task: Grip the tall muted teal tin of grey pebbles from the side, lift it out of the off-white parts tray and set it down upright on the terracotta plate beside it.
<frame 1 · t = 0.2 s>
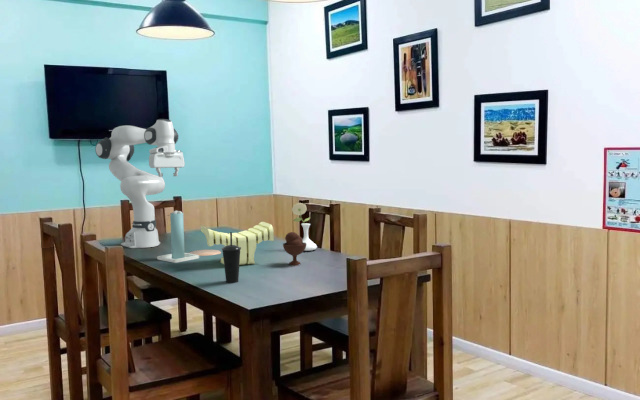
hand: (168, 176, 301), 39 cm above the table, tool pointing down, fingers open, 8 cm apart
pebble cup: (178, 258, 278), point 1 cm above the table, touching parts tray
terracotta plate: (205, 253, 293), on the table
drinking cup: (232, 282, 232), on the table
parts tray: (178, 259, 278), on the table
slatted curved stool: (237, 263, 269), on the table
ice cream bowl: (294, 264, 265), on the table
flower in vase: (304, 250, 301), on the table
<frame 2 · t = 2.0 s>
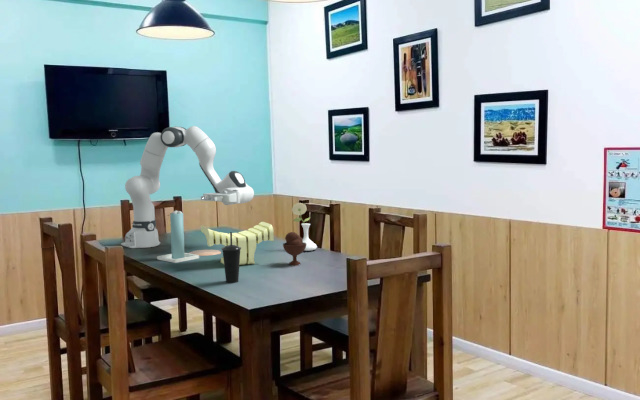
hand: (207, 198, 290), 28 cm above the table, tool horizontal, fingers open, 8 cm apart
nothing on the table moved.
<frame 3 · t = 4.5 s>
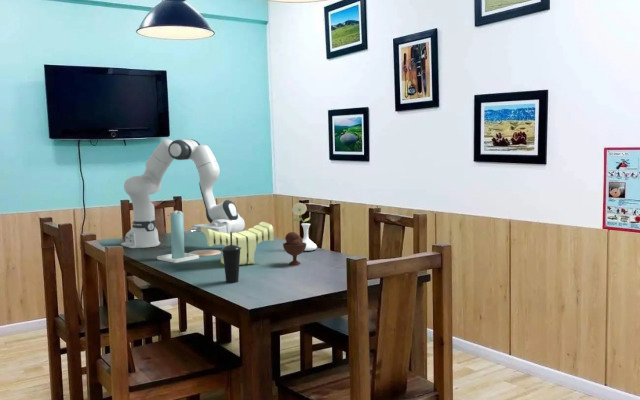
hand: (196, 231, 286), 12 cm above the table, tool horizontal, fingers open, 8 cm apart
nothing on the table moved.
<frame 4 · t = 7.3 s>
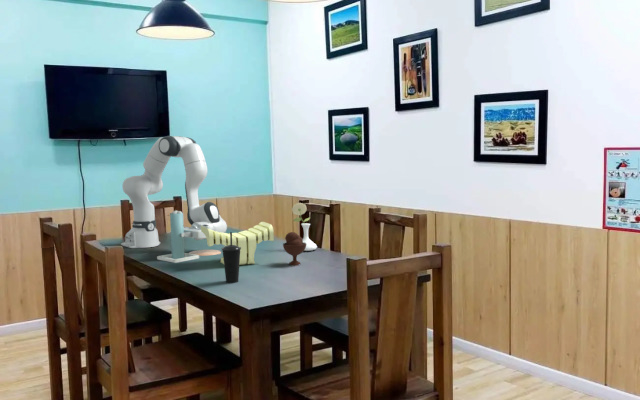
hand: (175, 234, 276), 13 cm above the table, tool horizontal, fingers closed on pebble cup, 6 cm apart
pebble cup: (178, 258, 278), point 1 cm above the table, touching gripper, parts tray
everything else where it was.
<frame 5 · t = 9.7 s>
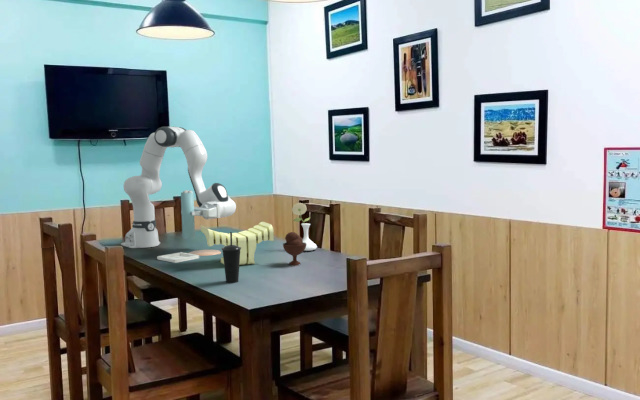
hand: (186, 213, 282), 22 cm above the table, tool horizontal, fingers closed on pebble cup, 6 cm apart
pebble cup: (188, 237, 283), point 10 cm above the table, touching gripper
everything else where it was.
when the fingers open (14 cm above the table, at t = 12.5 s): pebble cup drops 1 cm, resting on terracotta plate.
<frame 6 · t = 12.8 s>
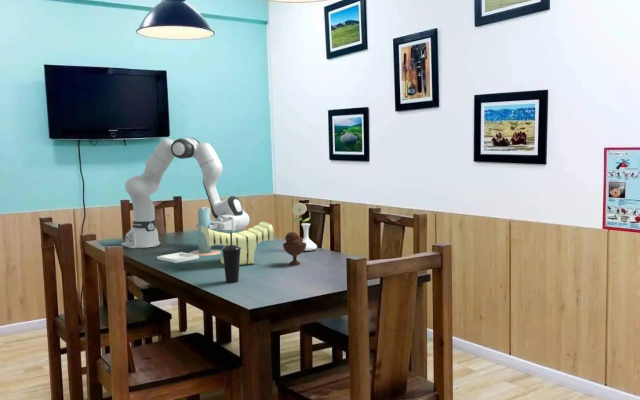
hand: (202, 226, 291), 14 cm above the table, tool horizontal, fingers open, 8 cm apart
pebble cup: (204, 252, 293), point 1 cm above the table, touching terracotta plate
everything else where it was.
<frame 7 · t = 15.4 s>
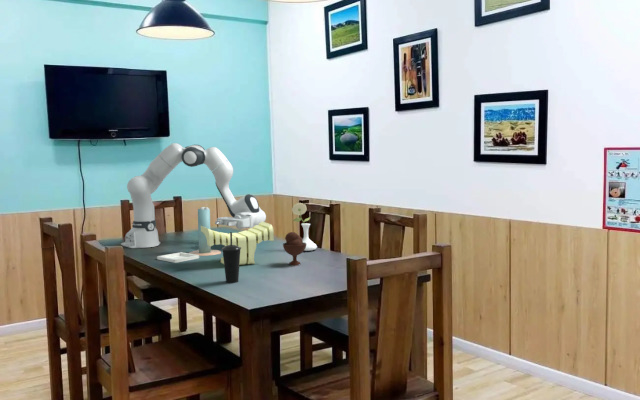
hand: (221, 223, 301), 14 cm above the table, tool horizontal, fingers open, 8 cm apart
nothing on the table moved.
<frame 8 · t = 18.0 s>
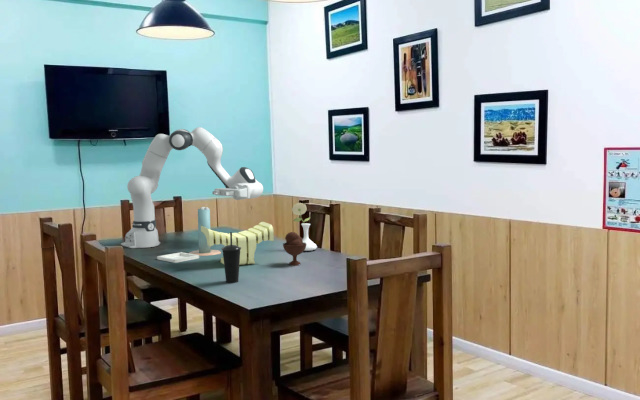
hand: (219, 193, 301), 30 cm above the table, tool horizontal, fingers open, 8 cm apart
nothing on the table moved.
at the end: pebble cup inside the target area on the terracotta plate (0.0 cm from its centre), point 0.8 cm above the terracotta plate's base; pebble cup tilted 0°; the gripper is holding nothing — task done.
